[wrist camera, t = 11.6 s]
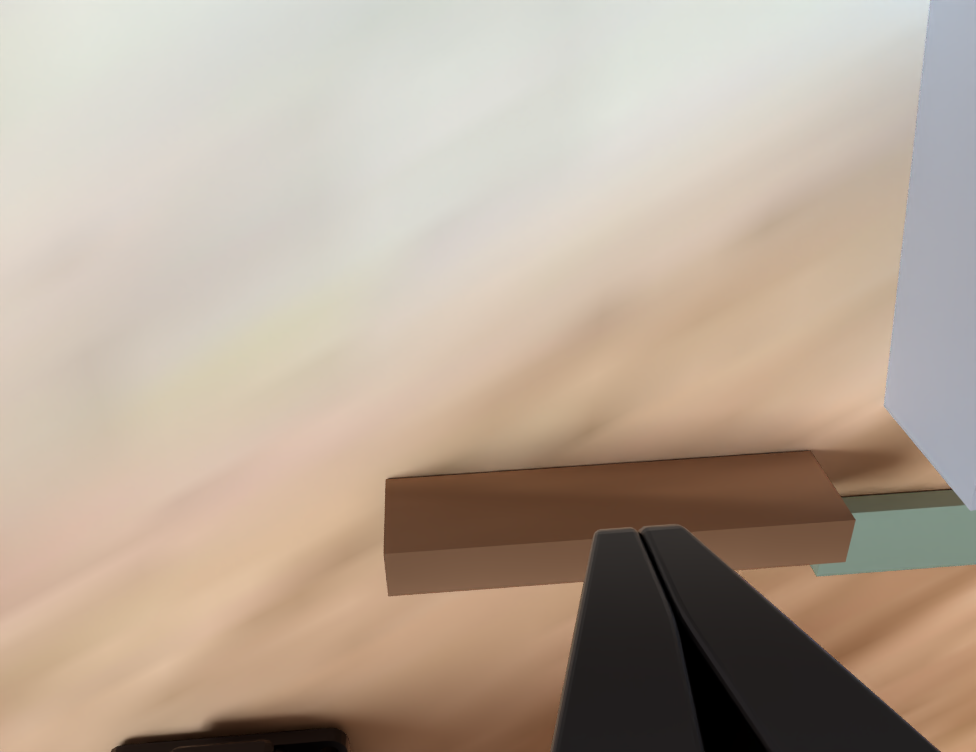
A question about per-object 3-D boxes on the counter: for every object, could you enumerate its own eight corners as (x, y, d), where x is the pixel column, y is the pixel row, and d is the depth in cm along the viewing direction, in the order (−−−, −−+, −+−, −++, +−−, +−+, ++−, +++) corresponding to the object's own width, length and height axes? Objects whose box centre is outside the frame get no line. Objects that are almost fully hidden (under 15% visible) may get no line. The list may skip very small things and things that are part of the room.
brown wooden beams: (802, 490, 22) (845, 562, 20) (390, 519, 21) (388, 596, 19) (960, -298, 14) (1061, -319, 12) (306, -283, 13) (287, -304, 11)
